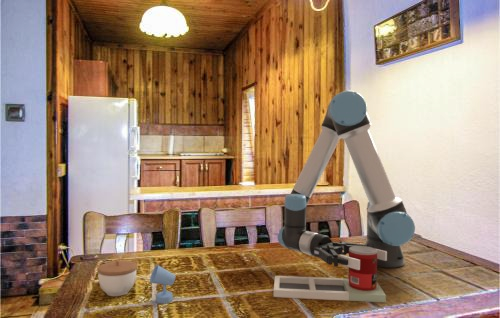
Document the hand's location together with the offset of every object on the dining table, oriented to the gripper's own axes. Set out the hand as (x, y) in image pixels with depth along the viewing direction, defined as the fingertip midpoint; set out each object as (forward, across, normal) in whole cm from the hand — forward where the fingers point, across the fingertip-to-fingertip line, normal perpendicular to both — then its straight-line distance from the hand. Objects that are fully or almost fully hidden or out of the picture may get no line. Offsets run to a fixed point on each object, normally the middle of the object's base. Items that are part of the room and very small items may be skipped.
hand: (373, 260), depth 105 cm
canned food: (-3, 0, -9) cm, 9 cm away
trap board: (-11, +7, -10) cm, 17 cm away
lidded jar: (-48, +56, -11) cm, 75 cm away
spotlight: (-35, +48, -11) cm, 61 cm away
